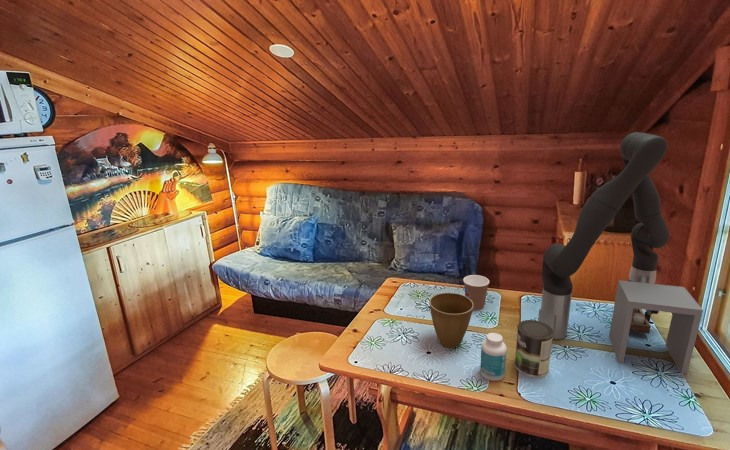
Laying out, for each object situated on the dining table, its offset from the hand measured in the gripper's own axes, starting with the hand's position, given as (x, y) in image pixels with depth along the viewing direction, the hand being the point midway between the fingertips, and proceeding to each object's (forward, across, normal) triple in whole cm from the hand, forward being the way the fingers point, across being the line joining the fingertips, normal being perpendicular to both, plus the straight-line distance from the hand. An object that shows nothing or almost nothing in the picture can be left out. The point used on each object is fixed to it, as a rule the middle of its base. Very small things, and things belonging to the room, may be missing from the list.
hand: (634, 320), depth 140 cm
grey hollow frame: (+2, 0, +17) cm, 17 cm away
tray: (+1, 0, 0) cm, 1 cm away
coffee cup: (+2, +56, +2) cm, 56 cm away
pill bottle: (+2, +46, +43) cm, 63 cm away
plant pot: (+2, +61, +30) cm, 68 cm away
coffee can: (+3, +35, +35) cm, 49 cm away
